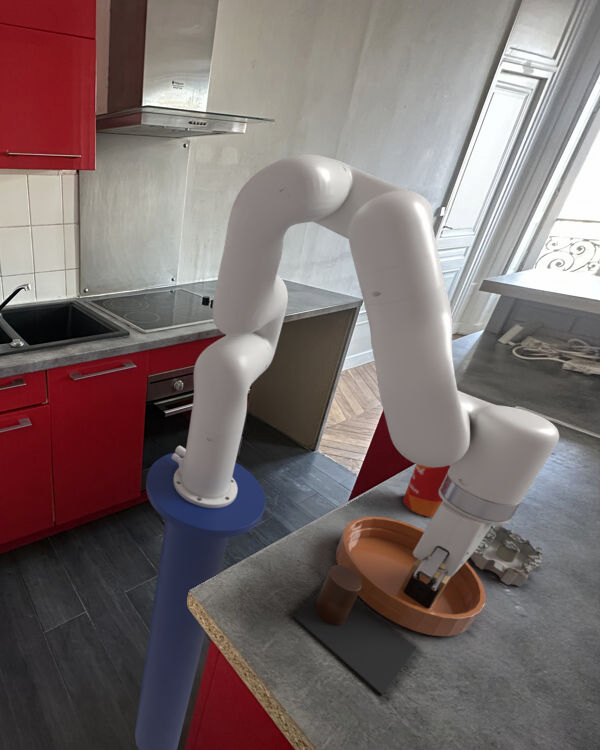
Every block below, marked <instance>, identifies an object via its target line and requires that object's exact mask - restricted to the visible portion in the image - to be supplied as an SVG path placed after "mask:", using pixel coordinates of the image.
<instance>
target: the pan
mask: <svg viewBox="0 0 600 750" xmlns="http://www.w3.org/2000/svg"><path fill="white" fill-rule="evenodd" d="M424 532H425V529H421V528H419V527H417V526H415V525H413V524H410V523H406V522H404V521H400V520H397V519H393V518H389V517H384V516H361V517H359V518H356V519H353V520H352V521H350V522H349V523H348V524H347V525H346V526H345V528H344V530H343V532H342V535H341V537H340V539H339V542H338V544H337V547H336V549H335V551H336V552H335V553H336V554H335V559H336V563H337V565H340V566H344V567H347V568H349V569H351V570H352V571H354V572H355V573H356V574H357V575H358V576H359V578H360V579H361V582H362V587H361V589H360V592H359V594H358V596H357V597H359V598H360V599H362V601H363V602H364V603H365V604H367V605H368V606H369V607H370V608H372V609H373V610H374V611H376V612H377V613H379V614H380V615H381V616H383V617H384V618H386V619H388V620H389V621H391V622H393V623H395V624H398V625H399V626H401V627H403V628H406V629H407V630H408V629H409V630H412V631H414V632H417V633H421V634H424V635H428V636H434V637H435V636H436V637H452V636H458V635H461V634H463V633H464V632H466V631H467V630H469V629H470V627H471V626H472V624H473V623H474V621H475V620H476V619H477V617H478V616H479V615H480V613H481V612H482V610H483V608H484V607H485V605H486V596H487V595H486V591H485V588H484V584H483V582H482V580H481V578H480V577H479V575H478V574H477V572H476V570H475V569H474V568H473V567H472V566H471V565H470V563H469V562H468V560H467V561H466V562H465V563H464V564H463V565H462V566H461V568H460V569H459V570H458V571H457V572H456V573H455V574H454V575H453V576H452V577H451V579H450V580H449V582H448V583H447V585H446V587H445V588H444V590H443V592H442V593H441V595H440V596H439V597H438V599H437V600H436V601H435V603H434V604H433V605H432V607H431V608H425V607H424V606H422V605H421V604H419V603H418V602H416V601H415V600H413V599H412V598H410V597H409V596H407V595H406V594H405V593H404V591H403V590H402V589H401V586H402V584H403V582H404V580H405V579H406V577H407V575H408V573H409V571H410V569H411V568H412V566H413V564H414V563H415V562H416V561H417V559H418V558H415V557H414V555H413V551H414V549H415V548H416V546H417V544H418V542H419V541H420V539H421V537H422V535H423V534H424Z"/></svg>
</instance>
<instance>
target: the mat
mask: <svg viewBox="0 0 600 750" xmlns="http://www.w3.org/2000/svg"><path fill="white" fill-rule="evenodd" d="M320 592H321V589H320V590H319V591H318V592H317V593H316V594H315V595H314V596H313V597H311V598H310V599H309V600H308V601H307V602H306V603H305V604H304V605H303V606H302V607H301V608H300V609H299V610H298V611H297V612H296V613H294V615H293V616H292V618H293V619H294V620H295V621H296V622H297V623H299V624H300V625H301V626H302V627H303V628H304V629H305V630H307V632H308V633H310V634H311V635H312V636H313V637H314V638H316V640H318V641H319V642H320V643H321V644H322V645H323V646H324V647H326V648H327V649H328V650H329V651H330V652H331V653H332V654H334V655H335V656H336V657H337V659H339V660H340V661H341V662H343V664H345V665H346V666H347V667H348V668H349V669H350V670H351V671H353V672H354V674H356V675H357V676H358V677H359V678H360V679H362V680H363V681H364V682H365V683H366V684H367V685H368V686H370V688H371V689H372V690H374V692H376V693H377V694H378V695H379V696H381V697H382V696H383V695H384V694H385V692H386V691H387V690H388V688H389V687H390V685H391V684H392V682H393V681H394V679H395V678H396V677H397V676H398V674H399V673H400V671H401V670H402V668H403V667H404V666H405V665H406V663H407V662H408V660H409V659H410V657H411V656H412V655H413V654H414V652H415V650H416V649H417V647H416V646H414V645H413V644H412V643H411V642H409V641H408V640H407V639H406V638H405V637H403V636H402V635H401V634H399V633H398V632H397V631H396V630H394V629H393V628H391V627H390V626H388V625H387V624H386V623H385V622H383V621H382V620H381V619H380V618H378V617H377V616H376V615H374V614H373V613H372V612H371V611H369V610H368V609H366V608H365V607H364V606H362V605H361V604H360V603H359V602H357V601H356V600H355V602H354V604H353V606H352V608H351V610H350V612H349V614H348V617H347V619H346V621H345V623H344V624H343V625H340V626H334V625H331V624H329V623H327V622H325V621H324V620H323V619H322V618H321V617H320V616H319V615H318V614H317V612H316V609H315V604H316V601H317V599H318V596H319V594H320Z"/></svg>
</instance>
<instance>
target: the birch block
mask: <svg viewBox="0 0 600 750" xmlns="http://www.w3.org/2000/svg"><path fill="white" fill-rule="evenodd" d="M430 557H431V556H430ZM429 559H430V558H429ZM429 559H428V560H429ZM422 561H423V559H422V560H419V559H417V561H416V562H415V563H414V564H413V566H412V568H411V569H410V571H409V573H408V575H407V577H406V579H405V580H404V582H403V584H402V586H401V589H402V590H403V591H404V589H405V587H406V586H407V584H408V582H409V580H410V578H411V576H412V574H413V573H414V572H416V570H417V569H418V567H419V565H420V564H421V562H422ZM440 567H441V568H443V569H445V568H446V567H445V564H443V563H442V564H441V566H440ZM439 574H440V572H439V571H436V573H435V575H434V577H433V578H434V579H435V581H436V579H437V578H438V576H439ZM451 577H452V576H450V577H448V576H445V577H444V579H443V580H442V582H441V583H440V585H439V587H438V588H440V590H439V592H438V594H437V595H436V597H435V599H434V601H433V603H432V604H431V606H430V607H429V608H431V607H432V605H433V604H434V603H435V601H436V600H437V599H438V597H439V596H440V595H441V593H442V592H443V590H444V588H445V587H446V585H447V583H448V582H449V580H450V579H451Z"/></svg>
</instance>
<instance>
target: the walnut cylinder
mask: <svg viewBox="0 0 600 750" xmlns="http://www.w3.org/2000/svg"><path fill="white" fill-rule="evenodd" d="M361 587H362V582H361V579H360V578H359V576H358V575H357V574H356V573H355V572H354V571H352V570H351V569H349V568H347V567H344V566H340V565H338V564H337V565H332V566H331V567H330V568H329V571H328V573H327V575H326V577H325V579H324V582H323V585H322V587H321V589H320V590H321V592H320V594H319V596H318V599H317V601H316V604H315V609H316V612H317V614H318V615H319V616H320V617H321V618H322V619H323V620H324V621H325V622H327V623H329V624H331V625H334V626H340V625H343V624H344V623H345V621H346V619H347V617H348V614H349V612H350V610H351V608H352V606H353V604H354V602H355V601H356V600H357V598H358V597H359V596H358V594H359V592H360V589H361Z"/></svg>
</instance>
